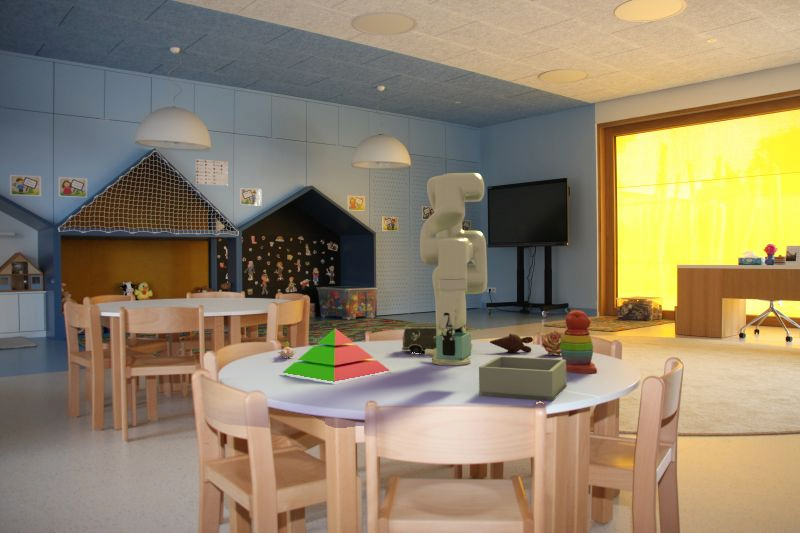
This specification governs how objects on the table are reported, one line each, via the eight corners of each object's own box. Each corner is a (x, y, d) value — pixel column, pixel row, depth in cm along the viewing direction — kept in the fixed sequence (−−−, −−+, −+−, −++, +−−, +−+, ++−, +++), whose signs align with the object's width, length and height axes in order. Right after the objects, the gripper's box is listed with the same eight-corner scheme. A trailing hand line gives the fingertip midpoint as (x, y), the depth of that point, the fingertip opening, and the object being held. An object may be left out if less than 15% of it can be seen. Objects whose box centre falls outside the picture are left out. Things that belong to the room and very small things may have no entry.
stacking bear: (597, 373, 186) (597, 311, 186) (561, 373, 188) (560, 311, 188) (594, 367, 197) (593, 308, 196) (560, 366, 199) (559, 308, 199)
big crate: (479, 395, 160) (478, 367, 160) (499, 381, 177) (498, 356, 177) (552, 401, 153) (552, 371, 153) (566, 386, 169) (566, 359, 169)
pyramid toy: (337, 365, 211) (337, 322, 211) (395, 374, 195) (394, 326, 194) (276, 377, 192) (275, 329, 192) (333, 388, 176) (333, 335, 176)
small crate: (436, 358, 170) (436, 335, 169) (446, 353, 176) (445, 331, 176) (462, 360, 167) (461, 337, 166) (470, 355, 173) (470, 333, 173)
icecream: (492, 336, 224) (535, 339, 224) (489, 328, 231) (531, 331, 231) (490, 355, 226) (533, 358, 226) (487, 346, 233) (529, 349, 233)
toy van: (405, 350, 239) (404, 323, 239) (472, 350, 236) (472, 323, 236) (401, 354, 228) (400, 326, 228) (472, 355, 225) (471, 326, 225)
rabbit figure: (278, 359, 232) (278, 358, 217) (277, 342, 232) (277, 340, 218) (295, 358, 233) (297, 357, 218) (295, 341, 234) (296, 340, 219)
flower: (536, 347, 228) (536, 330, 223) (561, 341, 228) (562, 324, 224) (547, 366, 220) (547, 349, 215) (573, 360, 221) (573, 343, 216)
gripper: (450, 282, 180) (451, 346, 181) (427, 288, 164) (428, 357, 165) (476, 283, 177) (477, 347, 178) (455, 288, 161) (456, 359, 162)
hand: (453, 352), depth 171 cm, fingers closed on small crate, 7 cm apart
